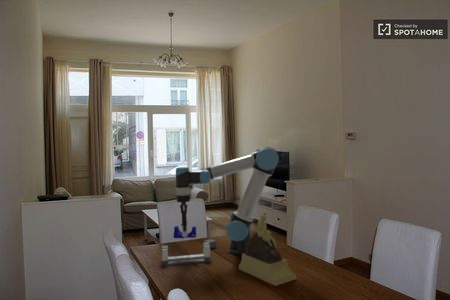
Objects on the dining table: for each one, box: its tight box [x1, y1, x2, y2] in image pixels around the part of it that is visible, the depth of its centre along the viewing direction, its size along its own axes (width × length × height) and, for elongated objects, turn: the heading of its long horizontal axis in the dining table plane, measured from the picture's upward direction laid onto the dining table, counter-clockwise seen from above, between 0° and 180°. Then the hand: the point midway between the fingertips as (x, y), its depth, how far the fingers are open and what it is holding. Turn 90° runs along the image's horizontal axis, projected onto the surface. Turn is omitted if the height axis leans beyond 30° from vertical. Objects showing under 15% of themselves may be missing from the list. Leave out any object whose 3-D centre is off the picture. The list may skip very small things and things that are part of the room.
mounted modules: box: [161, 242, 211, 262], centre depth 214 cm, size 26×7×6 cm, turn 99°
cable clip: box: [173, 225, 197, 239], centre depth 218 cm, size 12×4×6 cm, turn 81°
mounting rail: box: [162, 253, 212, 267], centre depth 214 cm, size 26×12×2 cm, turn 99°
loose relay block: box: [203, 238, 217, 250], centre depth 238 cm, size 5×6×4 cm
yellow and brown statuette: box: [238, 213, 297, 287], centre depth 189 cm, size 28×13×30 cm, turn 34°
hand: (184, 235), depth 219 cm, fingers closed on cable clip, 5 cm apart
